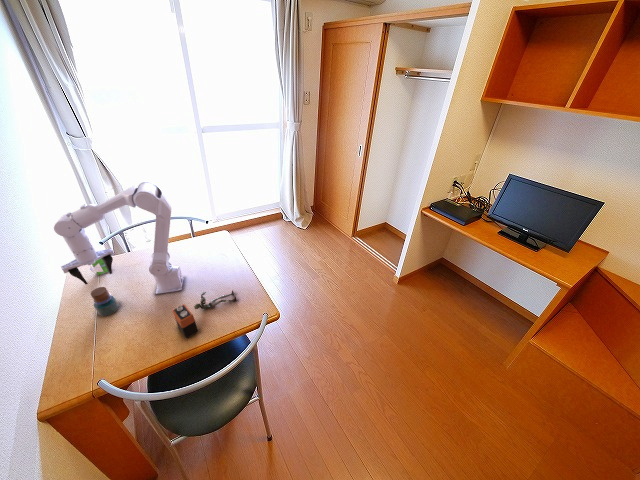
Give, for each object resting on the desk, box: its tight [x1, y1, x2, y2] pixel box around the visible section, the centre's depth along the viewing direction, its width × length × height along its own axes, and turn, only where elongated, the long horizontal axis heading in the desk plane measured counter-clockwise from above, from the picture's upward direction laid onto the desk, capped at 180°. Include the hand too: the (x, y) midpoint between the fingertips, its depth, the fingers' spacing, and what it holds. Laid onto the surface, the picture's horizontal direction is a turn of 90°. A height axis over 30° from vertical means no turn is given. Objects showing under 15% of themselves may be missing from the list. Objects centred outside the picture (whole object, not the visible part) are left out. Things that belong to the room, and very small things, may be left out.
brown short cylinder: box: [90, 286, 111, 302], centre depth 95 cm, size 5×5×3 cm
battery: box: [172, 303, 199, 339], centre depth 91 cm, size 4×7×10 cm, turn 46°
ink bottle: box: [93, 294, 120, 317], centre depth 97 cm, size 6×6×6 cm
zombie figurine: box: [193, 290, 237, 310], centre depth 102 cm, size 5×7×15 cm
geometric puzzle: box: [89, 258, 109, 276], centre depth 114 cm, size 7×7×8 cm
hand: (98, 277), depth 98 cm, fingers open, 7 cm apart
